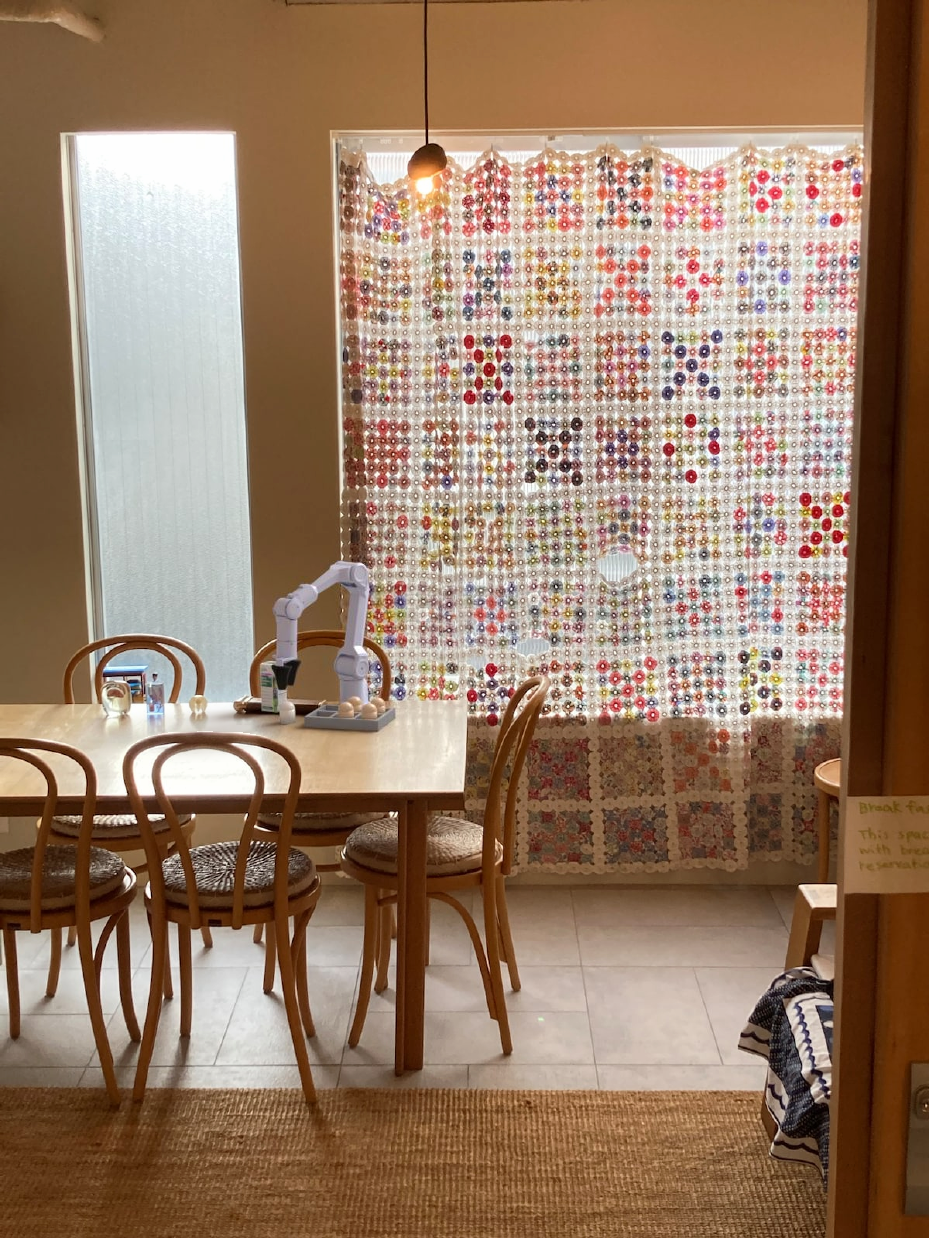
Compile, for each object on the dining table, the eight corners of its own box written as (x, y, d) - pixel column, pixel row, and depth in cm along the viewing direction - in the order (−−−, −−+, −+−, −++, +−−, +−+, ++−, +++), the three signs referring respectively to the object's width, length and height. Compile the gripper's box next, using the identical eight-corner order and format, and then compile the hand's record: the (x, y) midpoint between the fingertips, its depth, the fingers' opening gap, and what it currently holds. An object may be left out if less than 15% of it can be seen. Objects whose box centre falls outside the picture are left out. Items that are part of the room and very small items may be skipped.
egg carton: (324, 714, 341) (324, 691, 340) (395, 718, 336) (394, 695, 335) (304, 726, 327) (303, 703, 326) (378, 731, 321) (377, 707, 320)
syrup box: (261, 711, 347) (258, 663, 344) (273, 706, 352) (270, 659, 349) (276, 712, 344) (274, 665, 342) (288, 708, 349) (286, 661, 347)
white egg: (283, 720, 335) (282, 699, 334) (297, 720, 334) (297, 699, 333) (277, 723, 331) (276, 702, 330) (291, 724, 330) (290, 703, 329)
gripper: (280, 636, 336) (279, 682, 337) (265, 642, 321) (264, 691, 323) (304, 637, 335) (303, 684, 336) (289, 644, 321) (289, 692, 322)
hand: (285, 687), depth 330 cm, fingers open, 7 cm apart
